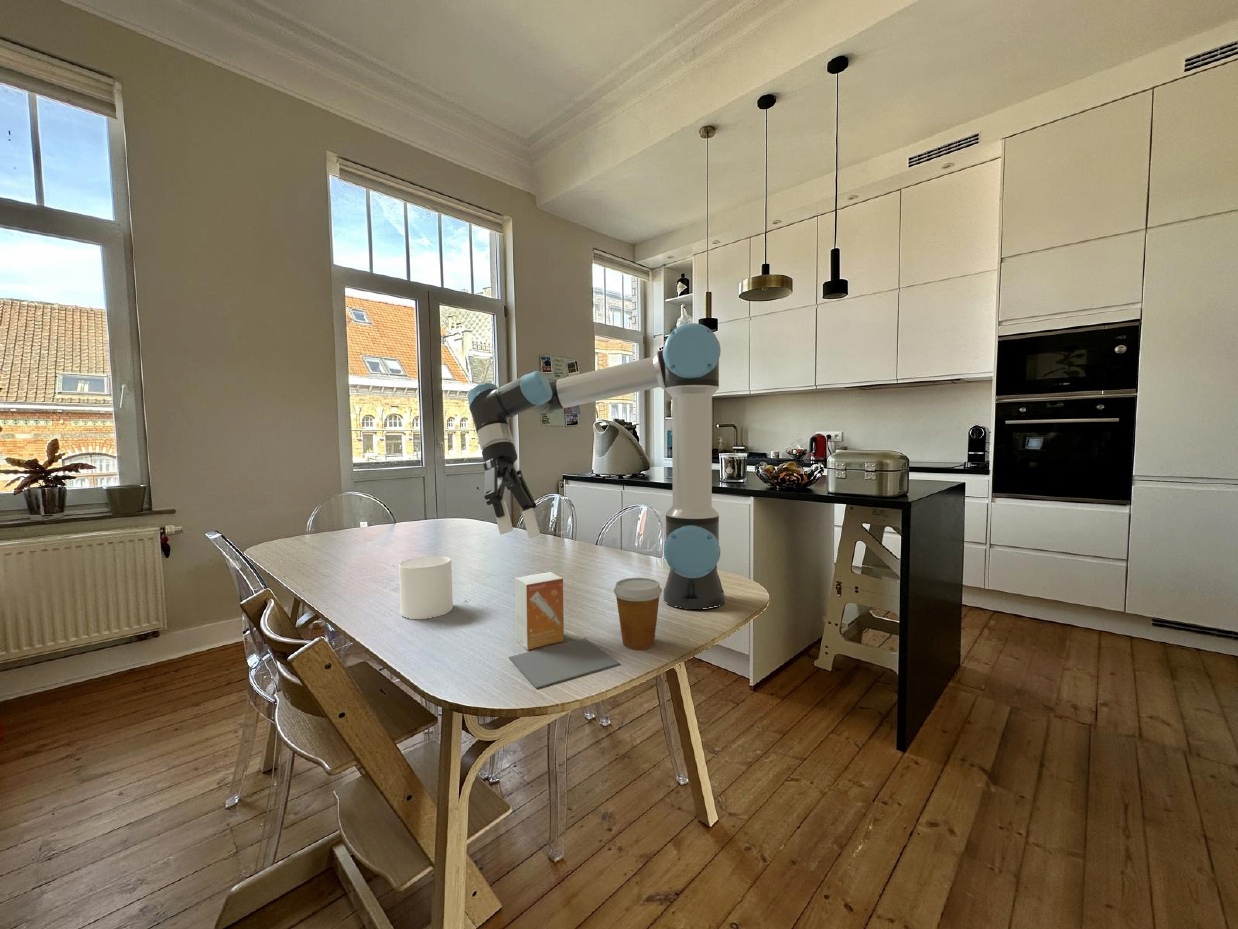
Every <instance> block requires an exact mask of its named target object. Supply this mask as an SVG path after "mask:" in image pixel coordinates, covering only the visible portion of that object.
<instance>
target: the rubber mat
mask: <svg viewBox="0 0 1238 929" xmlns="http://www.w3.org/2000/svg"><path fill="white" fill-rule="evenodd" d="M508 659H509V660H510V661H511V663H512V664H513V665H514V666H515V668H516V669H517V670H519V672H520V673H521V674H522V676H524V678H526V679H527V681H528V682H529V683H530V684H531V685H532V686H533V687H534V688H535V690H538V689H541V687H542V688H545V687H549V686H552V685H555V684H558V683H562V682H565V681H568V680H571V679H576V678H578V677H579V678H580V677H582V676H586V675H589V674H592V673H595V672H599V671H603V670H606V669H610V668H612V667H616V666H619V665H621V662H619V661H618V660H616V659H615V658H614V657H613V656H611V655H610V654H608V653H607V652H605V651H604V650H603V649H602V648H600V647H598V646H597V645H596V644H594V643H593V642H592V641H591V640H589V639H588V638H586V637H584V638H580V639H576V640H571V641H569V642H568V641H567V642H564V643H563V642H562V643H560V644H556V645H550V646H547V647H542V648H540V649H535V650H532V651H527V652H524V653H519V654H516V655H511V656H509V657H508ZM551 684H552V685H551ZM537 688H538V689H537Z"/></svg>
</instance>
